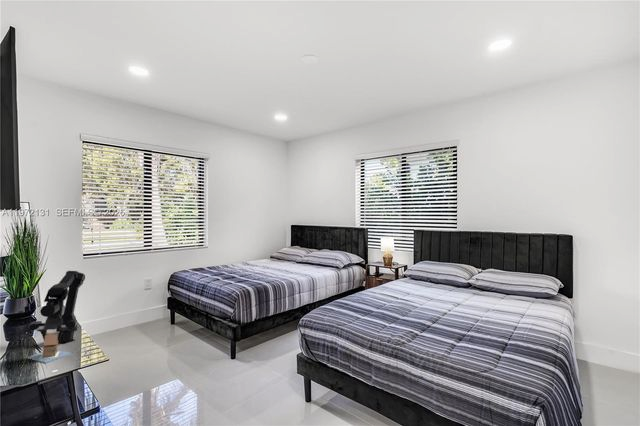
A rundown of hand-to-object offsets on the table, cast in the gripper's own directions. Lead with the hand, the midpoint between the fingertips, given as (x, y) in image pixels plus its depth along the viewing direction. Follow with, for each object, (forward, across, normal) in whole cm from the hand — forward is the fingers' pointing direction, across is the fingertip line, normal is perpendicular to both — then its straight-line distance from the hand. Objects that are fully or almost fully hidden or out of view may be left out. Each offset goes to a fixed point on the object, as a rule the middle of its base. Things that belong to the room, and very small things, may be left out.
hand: (51, 341), depth 161 cm
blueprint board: (+8, 0, 0) cm, 8 cm away
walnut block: (+7, 0, 0) cm, 7 cm away
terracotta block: (+1, 0, 0) cm, 1 cm away
